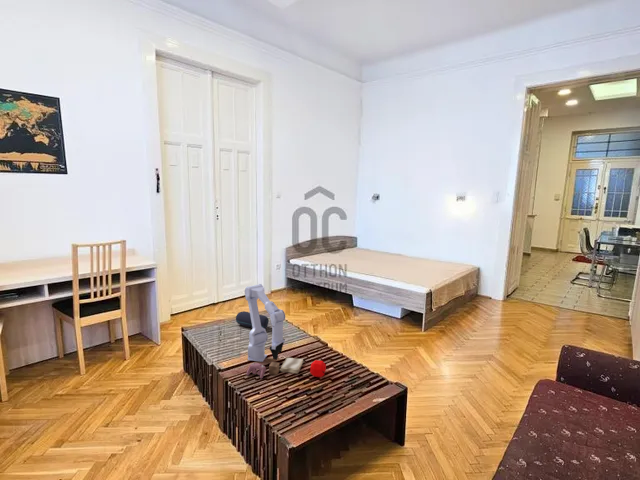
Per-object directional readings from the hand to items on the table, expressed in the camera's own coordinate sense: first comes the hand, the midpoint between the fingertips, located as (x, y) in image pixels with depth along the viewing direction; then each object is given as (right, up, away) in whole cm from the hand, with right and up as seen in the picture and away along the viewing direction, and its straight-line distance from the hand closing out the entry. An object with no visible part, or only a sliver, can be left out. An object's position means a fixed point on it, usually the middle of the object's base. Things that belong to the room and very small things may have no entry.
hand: (277, 355), depth 186 cm
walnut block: (-2, -10, +1) cm, 10 cm away
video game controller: (-11, -10, -2) cm, 15 cm away
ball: (+22, -11, -1) cm, 25 cm away
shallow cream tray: (+8, -9, +7) cm, 13 cm away
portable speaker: (-25, 0, +60) cm, 65 cm away
